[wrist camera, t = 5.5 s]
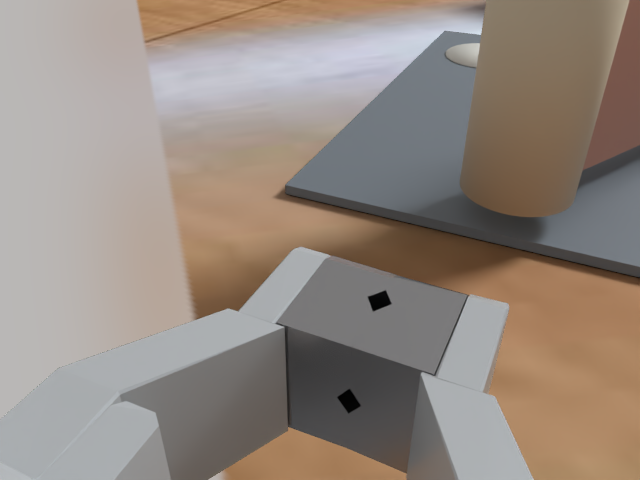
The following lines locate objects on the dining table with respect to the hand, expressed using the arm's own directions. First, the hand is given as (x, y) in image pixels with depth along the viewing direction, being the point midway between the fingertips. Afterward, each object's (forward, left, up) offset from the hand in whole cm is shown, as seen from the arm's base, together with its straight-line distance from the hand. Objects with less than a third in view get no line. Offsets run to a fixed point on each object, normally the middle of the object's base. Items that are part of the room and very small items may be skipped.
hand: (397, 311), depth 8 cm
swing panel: (-2, -18, -5) cm, 18 cm away
